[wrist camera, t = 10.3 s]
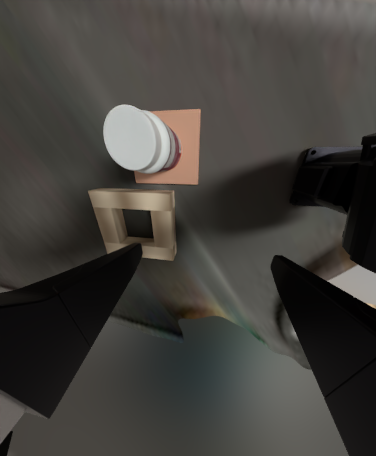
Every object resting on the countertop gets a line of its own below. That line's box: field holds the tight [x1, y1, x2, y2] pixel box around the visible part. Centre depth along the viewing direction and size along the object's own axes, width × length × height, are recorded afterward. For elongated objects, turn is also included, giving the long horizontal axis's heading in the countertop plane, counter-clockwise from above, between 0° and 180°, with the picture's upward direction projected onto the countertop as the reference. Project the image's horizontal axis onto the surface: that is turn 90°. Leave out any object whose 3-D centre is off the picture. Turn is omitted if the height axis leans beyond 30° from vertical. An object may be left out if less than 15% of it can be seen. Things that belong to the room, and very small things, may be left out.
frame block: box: [88, 188, 177, 261], centre depth 22 cm, size 12×11×2 cm
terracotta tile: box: [134, 109, 201, 185], centre depth 17 cm, size 9×8×1 cm
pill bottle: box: [103, 105, 182, 174], centre depth 13 cm, size 5×5×8 cm
